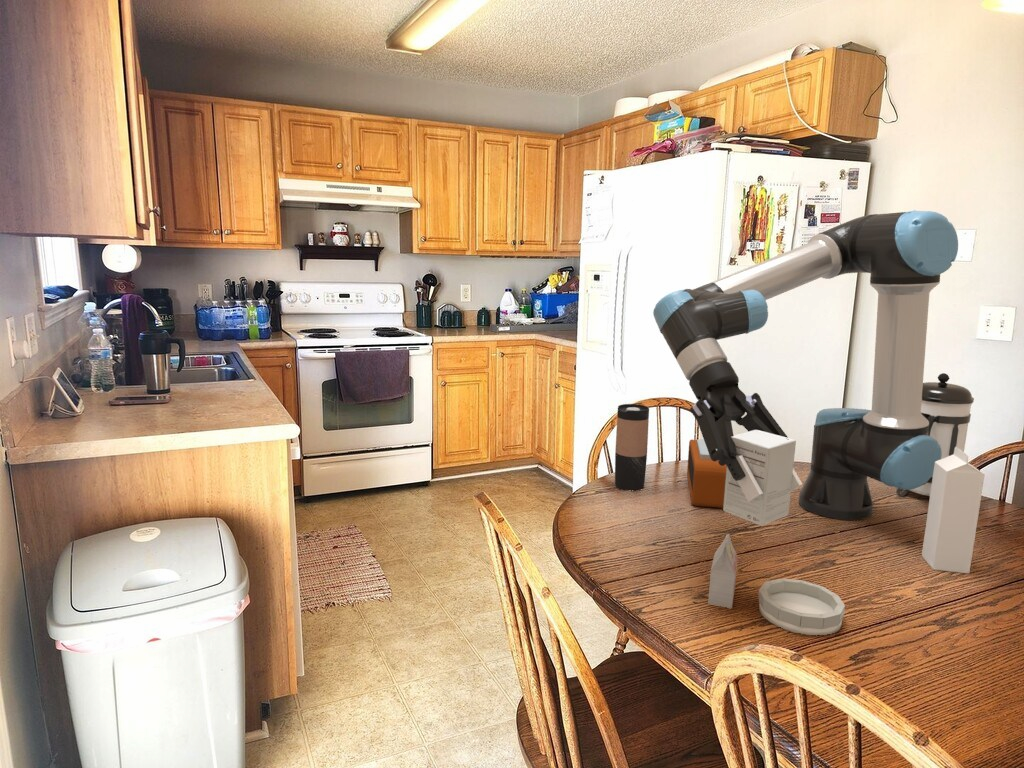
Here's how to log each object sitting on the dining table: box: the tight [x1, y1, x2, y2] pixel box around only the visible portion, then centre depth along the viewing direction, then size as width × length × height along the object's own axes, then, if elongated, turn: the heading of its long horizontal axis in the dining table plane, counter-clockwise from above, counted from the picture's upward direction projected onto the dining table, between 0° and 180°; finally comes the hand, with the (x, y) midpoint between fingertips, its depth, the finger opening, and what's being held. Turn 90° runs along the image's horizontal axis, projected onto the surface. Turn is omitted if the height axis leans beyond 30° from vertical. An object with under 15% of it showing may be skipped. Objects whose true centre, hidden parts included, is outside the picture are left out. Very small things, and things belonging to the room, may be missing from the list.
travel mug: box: [614, 403, 650, 492], centre depth 161 cm, size 8×8×20 cm
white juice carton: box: [707, 533, 738, 609], centre depth 109 cm, size 4×7×10 cm, turn 158°
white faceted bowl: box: [758, 578, 846, 637], centre depth 104 cm, size 12×12×3 cm
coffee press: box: [895, 372, 975, 497], centre depth 156 cm, size 17×16×30 cm
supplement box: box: [722, 430, 797, 527], centre depth 104 cm, size 7×7×13 cm
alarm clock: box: [686, 439, 727, 509], centre depth 159 cm, size 24×8×11 cm, turn 168°
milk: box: [921, 447, 985, 574], centre depth 121 cm, size 6×6×22 cm
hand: (775, 492), depth 101 cm, fingers closed on supplement box, 8 cm apart
